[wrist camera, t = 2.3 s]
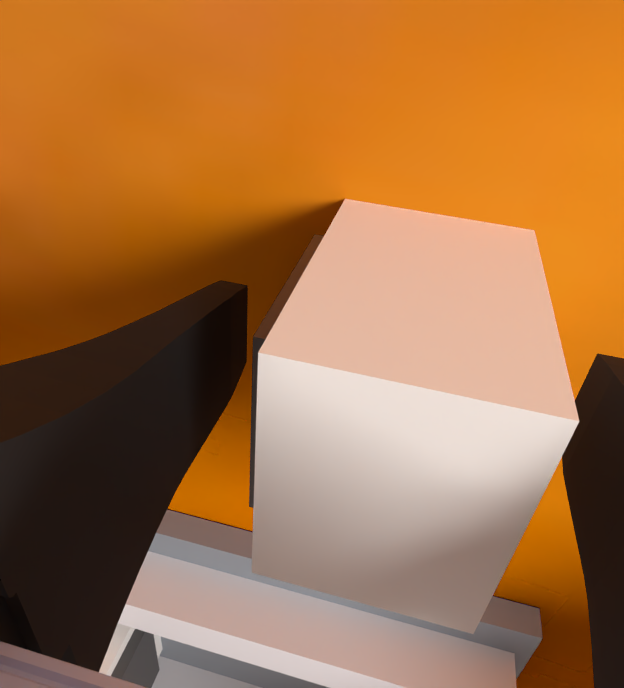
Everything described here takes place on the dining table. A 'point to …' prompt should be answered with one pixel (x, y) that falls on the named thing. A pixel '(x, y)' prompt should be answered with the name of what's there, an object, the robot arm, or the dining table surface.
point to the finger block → (406, 412)
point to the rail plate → (291, 628)
